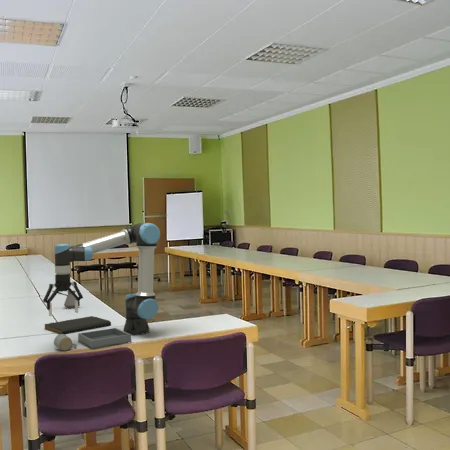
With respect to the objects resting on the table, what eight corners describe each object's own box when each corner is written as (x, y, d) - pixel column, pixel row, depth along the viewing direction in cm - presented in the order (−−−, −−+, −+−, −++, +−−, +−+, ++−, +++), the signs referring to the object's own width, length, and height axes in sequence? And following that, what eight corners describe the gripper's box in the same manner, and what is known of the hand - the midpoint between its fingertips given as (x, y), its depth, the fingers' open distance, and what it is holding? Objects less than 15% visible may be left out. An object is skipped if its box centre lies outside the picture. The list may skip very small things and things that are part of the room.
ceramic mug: (59, 352, 266) (59, 337, 266) (53, 349, 272) (53, 334, 272) (79, 349, 273) (79, 334, 273) (73, 346, 279) (72, 331, 279)
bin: (115, 335, 301) (115, 327, 301) (131, 342, 283) (131, 334, 282) (78, 341, 289) (78, 333, 288) (92, 349, 270) (91, 340, 270)
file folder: (91, 315, 346) (111, 320, 328) (91, 321, 346) (111, 327, 329) (44, 323, 323) (61, 329, 306) (44, 330, 323) (62, 336, 306)
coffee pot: (75, 305, 407) (75, 286, 407) (82, 307, 398) (81, 288, 398) (49, 309, 393) (48, 290, 393) (55, 311, 384) (54, 291, 384)
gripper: (83, 271, 282) (84, 310, 282) (36, 274, 268) (37, 315, 268) (88, 272, 276) (89, 312, 276) (40, 276, 262) (41, 318, 262)
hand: (63, 314), depth 272 cm, fingers open, 13 cm apart
